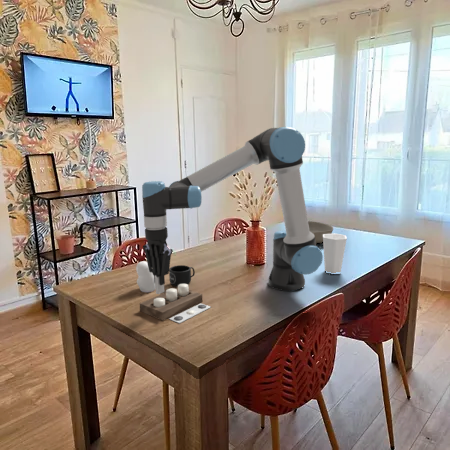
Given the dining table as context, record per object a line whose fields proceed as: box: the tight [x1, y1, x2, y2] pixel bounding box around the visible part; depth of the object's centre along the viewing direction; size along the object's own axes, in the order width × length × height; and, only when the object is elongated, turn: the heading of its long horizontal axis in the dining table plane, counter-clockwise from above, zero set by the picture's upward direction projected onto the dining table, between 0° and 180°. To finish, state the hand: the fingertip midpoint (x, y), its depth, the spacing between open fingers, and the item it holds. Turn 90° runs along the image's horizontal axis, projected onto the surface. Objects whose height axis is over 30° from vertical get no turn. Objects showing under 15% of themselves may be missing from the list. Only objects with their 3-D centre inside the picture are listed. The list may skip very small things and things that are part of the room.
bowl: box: [308, 220, 334, 245], centre depth 231 cm, size 28×28×10 cm
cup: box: [322, 232, 348, 273], centre depth 177 cm, size 11×10×17 cm
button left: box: [154, 298, 165, 308], centre depth 139 cm, size 4×4×4 cm
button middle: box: [165, 287, 177, 302], centre depth 143 cm, size 4×4×4 cm
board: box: [139, 287, 203, 321], centre depth 143 cm, size 12×20×3 cm, turn 141°
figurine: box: [135, 260, 156, 293], centre depth 158 cm, size 7×8×12 cm
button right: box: [177, 284, 190, 297], centre depth 147 cm, size 4×4×4 cm
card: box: [168, 302, 212, 324], centre depth 138 cm, size 5×16×1 cm, turn 141°
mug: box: [168, 264, 196, 288], centre depth 165 cm, size 12×9×7 cm
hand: (160, 292), depth 138 cm, fingers closed
